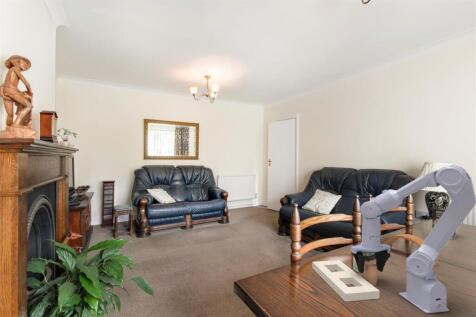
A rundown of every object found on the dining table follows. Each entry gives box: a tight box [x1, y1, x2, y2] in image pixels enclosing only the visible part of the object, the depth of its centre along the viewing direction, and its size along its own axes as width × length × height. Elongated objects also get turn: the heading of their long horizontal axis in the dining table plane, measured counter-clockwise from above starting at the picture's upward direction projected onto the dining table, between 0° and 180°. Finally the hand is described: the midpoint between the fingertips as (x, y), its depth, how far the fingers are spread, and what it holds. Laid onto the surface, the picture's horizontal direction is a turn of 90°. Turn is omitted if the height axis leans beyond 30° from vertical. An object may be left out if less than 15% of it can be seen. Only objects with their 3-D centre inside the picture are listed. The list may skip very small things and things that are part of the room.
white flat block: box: [311, 259, 380, 303], centre depth 83 cm, size 22×12×2 cm, turn 9°
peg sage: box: [352, 254, 365, 273], centre depth 92 cm, size 4×4×6 cm
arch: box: [384, 233, 440, 269], centre depth 104 cm, size 6×20×10 cm, turn 26°
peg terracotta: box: [363, 261, 378, 287], centre depth 83 cm, size 4×4×6 cm
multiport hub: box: [362, 252, 376, 262], centre depth 105 cm, size 4×14×2 cm, turn 117°
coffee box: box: [431, 207, 457, 241], centre depth 132 cm, size 9×6×16 cm
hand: (370, 271), depth 83 cm, fingers open, 7 cm apart
